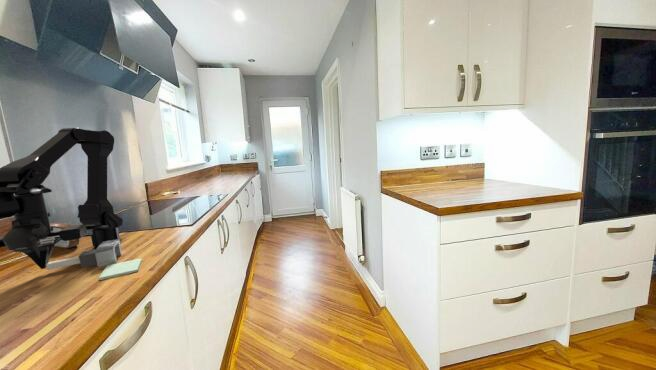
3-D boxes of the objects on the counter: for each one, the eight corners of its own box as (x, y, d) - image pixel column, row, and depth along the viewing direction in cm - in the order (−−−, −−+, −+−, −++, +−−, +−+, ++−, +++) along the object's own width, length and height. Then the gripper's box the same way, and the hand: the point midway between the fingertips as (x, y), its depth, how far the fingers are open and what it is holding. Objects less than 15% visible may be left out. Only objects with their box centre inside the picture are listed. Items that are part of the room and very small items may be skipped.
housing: (122, 253, 80) (119, 238, 79) (116, 263, 73) (112, 247, 72) (105, 256, 78) (102, 241, 77) (97, 267, 71) (94, 250, 70)
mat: (142, 260, 74) (142, 258, 74) (137, 271, 68) (137, 269, 67) (107, 267, 71) (107, 265, 71) (99, 280, 64) (98, 278, 64)
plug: (111, 257, 77) (108, 246, 76) (108, 262, 74) (105, 250, 73) (53, 270, 71) (49, 258, 70) (46, 275, 68) (43, 263, 67)
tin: (82, 246, 88) (77, 223, 86) (70, 250, 85) (65, 226, 83) (56, 243, 93) (51, 221, 91) (44, 246, 90) (39, 223, 88)
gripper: (-51, 228, 55) (-32, 293, 57) (66, 213, 64) (78, 271, 66) (-15, 216, 65) (0, 273, 67) (82, 205, 73) (92, 255, 76)
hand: (44, 268), depth 69 cm, fingers closed
